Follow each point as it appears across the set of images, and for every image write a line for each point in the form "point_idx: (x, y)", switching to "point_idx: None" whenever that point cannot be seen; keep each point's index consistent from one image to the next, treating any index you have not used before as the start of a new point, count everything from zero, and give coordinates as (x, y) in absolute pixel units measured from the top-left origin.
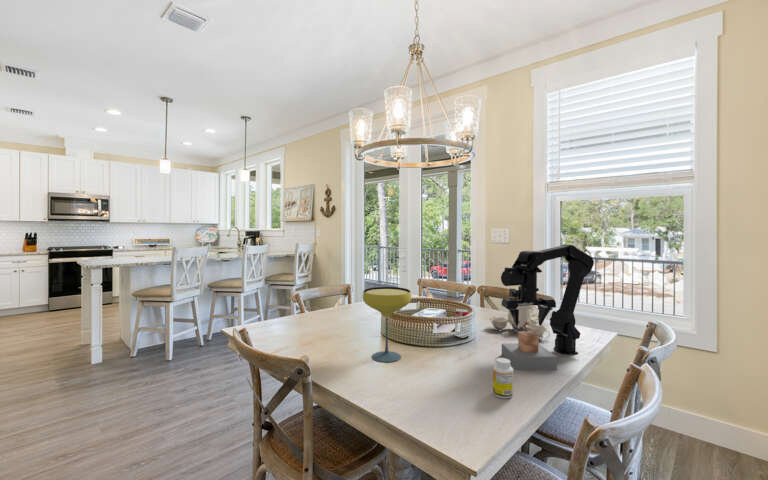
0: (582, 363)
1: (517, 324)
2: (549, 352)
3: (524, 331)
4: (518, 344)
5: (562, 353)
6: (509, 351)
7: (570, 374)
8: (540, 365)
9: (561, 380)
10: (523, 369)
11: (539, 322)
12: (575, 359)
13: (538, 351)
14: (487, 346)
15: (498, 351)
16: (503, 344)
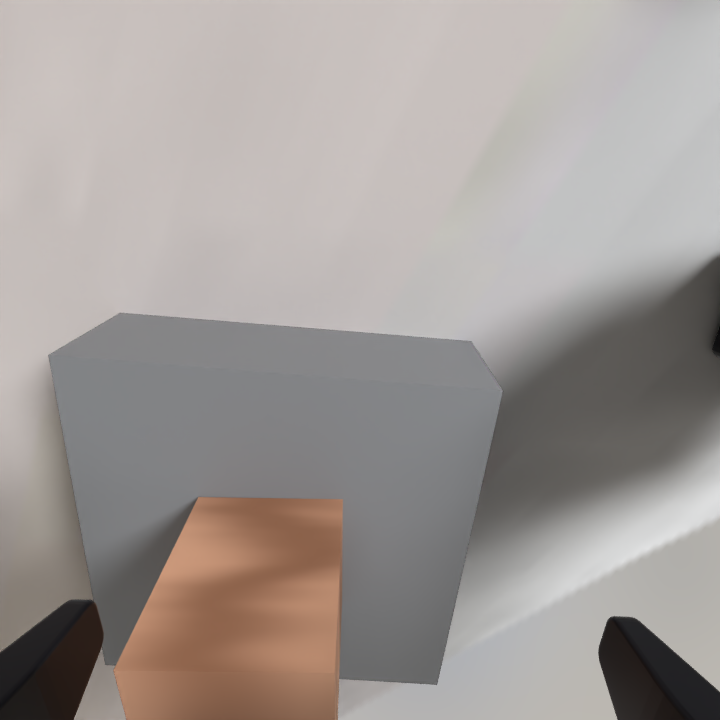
0: (693, 526)
1: (72, 691)
2: (439, 615)
3: (214, 671)
4: (186, 526)
5: (717, 355)
6: (89, 543)
7: (462, 647)
8: None
9: (357, 695)
10: None
11: (633, 694)
12: (716, 459)
13: (354, 589)
14: (9, 11)
15: (112, 211)
16: (61, 392)
